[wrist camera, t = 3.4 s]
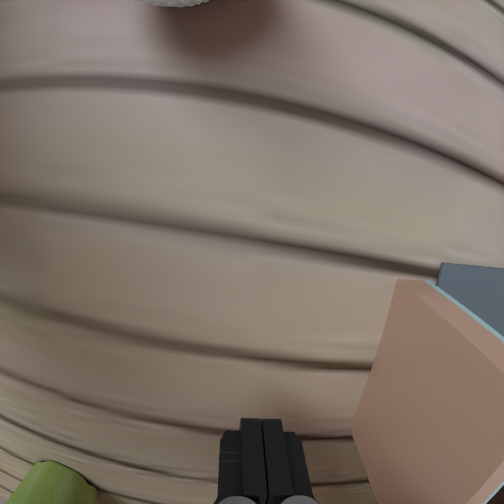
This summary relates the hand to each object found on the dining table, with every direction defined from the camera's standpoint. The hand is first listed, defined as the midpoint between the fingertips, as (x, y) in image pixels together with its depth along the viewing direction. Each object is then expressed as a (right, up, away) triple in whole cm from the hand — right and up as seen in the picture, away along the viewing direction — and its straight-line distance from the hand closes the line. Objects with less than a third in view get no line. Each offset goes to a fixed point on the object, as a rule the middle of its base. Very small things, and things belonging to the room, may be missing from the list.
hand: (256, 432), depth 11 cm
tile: (+7, +1, +5) cm, 9 cm away
